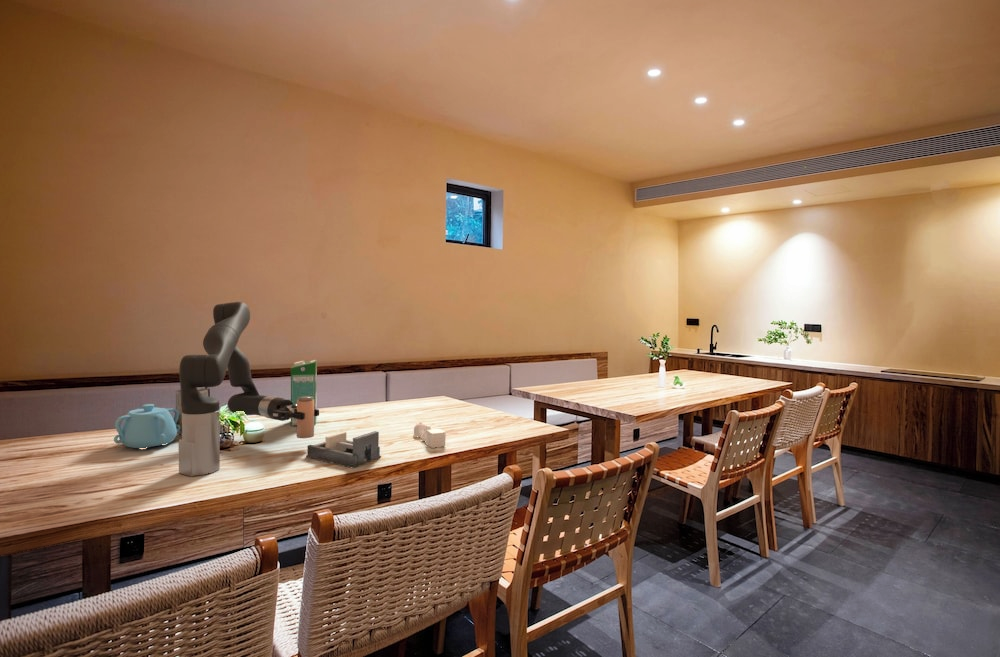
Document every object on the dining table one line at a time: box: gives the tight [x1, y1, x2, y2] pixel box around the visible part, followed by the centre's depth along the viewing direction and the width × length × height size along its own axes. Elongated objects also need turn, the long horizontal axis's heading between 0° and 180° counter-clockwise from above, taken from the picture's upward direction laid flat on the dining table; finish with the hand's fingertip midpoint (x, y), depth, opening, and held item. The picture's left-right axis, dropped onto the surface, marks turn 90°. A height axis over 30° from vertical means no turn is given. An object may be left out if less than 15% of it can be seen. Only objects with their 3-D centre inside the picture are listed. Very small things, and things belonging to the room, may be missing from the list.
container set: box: [413, 421, 447, 449], centre depth 180 cm, size 20×5×6 cm, turn 30°
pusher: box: [325, 431, 366, 452], centre depth 157 cm, size 7×12×6 cm, turn 63°
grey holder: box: [305, 430, 382, 469], centre depth 158 cm, size 12×20×8 cm, turn 63°
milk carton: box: [290, 359, 318, 427], centre depth 200 cm, size 9×9×25 cm
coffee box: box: [174, 387, 211, 436], centre depth 181 cm, size 9×6×16 cm
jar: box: [296, 396, 315, 439], centre depth 166 cm, size 5×5×13 cm
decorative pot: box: [113, 403, 180, 449], centre depth 166 cm, size 16×16×14 cm
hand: (311, 414), depth 164 cm, fingers closed on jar, 5 cm apart
